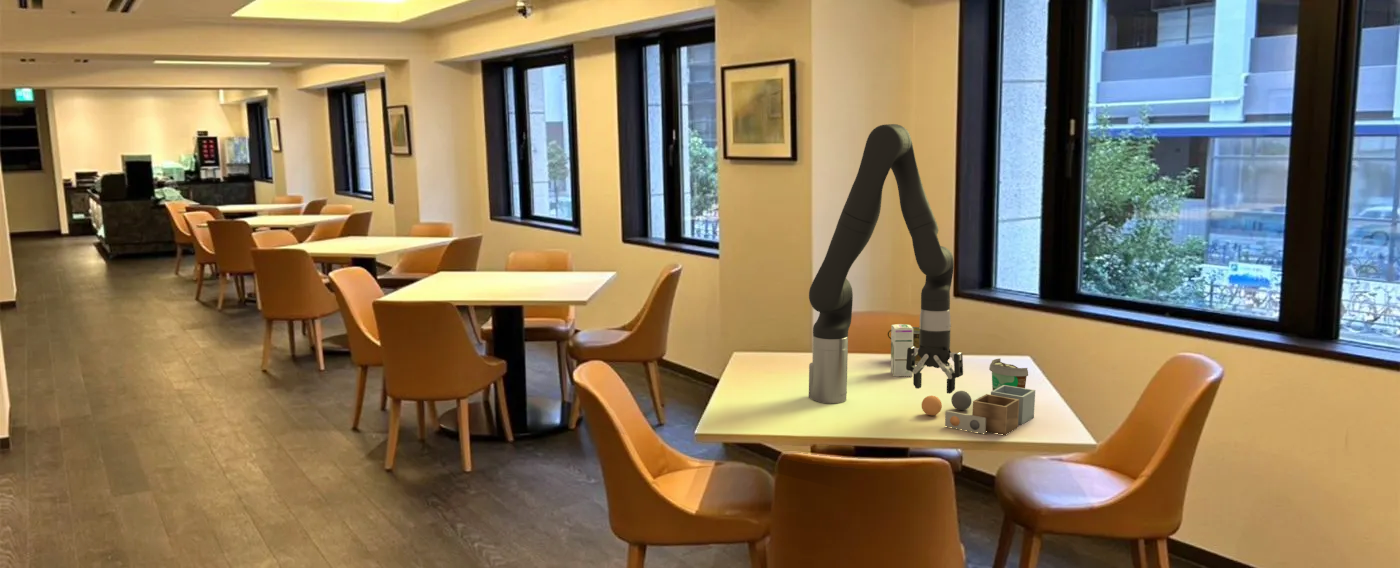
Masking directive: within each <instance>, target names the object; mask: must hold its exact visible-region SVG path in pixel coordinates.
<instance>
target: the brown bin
mask: <svg viewBox="0 0 1400 568" xmlns="http://www.w3.org/2000/svg"><path fill="white" fill-rule="evenodd" d="M1018 412H1019V399H1013V398H1007V397H1001V396H995V395H991V394H988V393H986V394H984V395H982V396H981V397H980V396H979V397H978V398H977V399H974V400H973V401H972V414H971V415H973V416H979V417H984V418H986V431H987V432H986V433H988V432H992V433H991V434H993V433H998V434H1003V435H1005V436H1007V435H1008V434H1007V433H1009V432H1010V433H1012V432H1013V431H1014V429H1015V428H1016V429H1018V428H1017V427H1019V424H1018ZM1016 429H1015V430H1016ZM1012 430H1013V431H1012ZM1011 431H1012V432H1011ZM1010 433H1009V434H1010ZM998 434H997V435H998ZM1006 434H1007V435H1006ZM1003 435H1002V436H1003Z"/></svg>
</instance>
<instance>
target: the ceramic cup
mask: <svg viewBox="0 0 1400 568" xmlns="http://www.w3.org/2000/svg"><path fill="white" fill-rule="evenodd" d="M911 327H912V328H913V346H915V347H916V348H919V347H920V344H919V332H920V326H919V327H917V326H911ZM890 333H891V329H890V330H888V332H887V337H888V338H889V339H890V340H891V335H890ZM920 360H921V357H920V356H919V354H918V353H917V355H916V356H915V365H917V364H918V363H919V361H920Z"/></svg>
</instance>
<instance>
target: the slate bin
mask: <svg viewBox="0 0 1400 568" xmlns="http://www.w3.org/2000/svg"><path fill="white" fill-rule="evenodd" d="M990 395H995V396H1001V397H1007V398H1013V399H1019V412H1018V425H1020V424H1021V426H1022V424H1023V425H1024V424H1025V422H1026V423H1028V422H1029V421H1031V420H1032V419H1033V418H1035V407H1036V406H1035V403H1036V390H1035V389H1030V388H1026V387H1025V388H1019V387H1013V386H1007V385H1002V386H1001V387H999V388H997V389H995V390H993V391H992V390H991V391H990Z"/></svg>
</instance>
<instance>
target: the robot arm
mask: <svg viewBox="0 0 1400 568" xmlns="http://www.w3.org/2000/svg"><path fill="white" fill-rule="evenodd" d="M890 170H891V171H892V173H893V175H894V179H895V181H896V187H897V190H898V199H899V206H900V211H901V214H902V217H903V220H904V223H905V225H906V227H907V230H908V233H909V235H910V237H911V242H912V247H913V251H914V257H915V261H916V264H917V265H918V268H919V269H920V272H921V273H922V274H924V276H925V282H924V283H925V284H924V285H923V287H922V289H921V293H920V314H919V328H920V332H919V344H920V347H919V348H916V347H915V346H912V347H910V348H908V349H907V363H906V369H907V370H908V371H911V372H913V376H912V380H913V382H912V383H913V386H914V388H915V389H921V388H922V376H923V375H922V374H923V373H922V371H923V369H924V368H926V367H927V368H932V367H933V368H936V369H940V370H941V371H942V372H944V374H945V376H946V377H947V378H946V394H953V392H954V391H955V389H956V378H960V377H961V376H963V375H964V363H963V362H964V361H963V358H964V357H963V352H962V351H958V352H951V327H952V323H951V321H952V320H951V317H952V316H951V287H952V282H953V275H954V269H955V265H954V264H955V263H954V262H955V261H954V256H953V253H952V252H951V250H950V249H949V248H947V247H946V246H943V245H941V244H940V241H939V238H938V234H939V226H938V222H937V221H936V218H935V215H934V212H933V209H932V207H931V205H930V202H929V200H928V197H927V194H926V192H925V189H924V186H923V182H922V178H921V176H920V171H919V168H918V164H917V160H916V155H915V150H914V145H913V141H912V137H911V134H910V132H909V130H908V129H906V128H905V126H903V125H900V124H896V123H890V124H889V123H888V124H881V125H878V126H876V127H875V128H873V130H871V131H870V133H869V134H868V137H867V139H866V142H865V146H864V149H863V153H862V157H861V160H860V164H859V167H858V171H857V174H856V177H855V179H854V181H853V184H852V185H851V188H850V191H849V193H848V195H847V198H846V200H845V204H844V205H843V208H842V210H841V213H840V215H839V218H838V220H837V224H836V227H835V228H834V229H835V230H834V233H833V235H832V238H831V239H830V243H829V246H828V249H827V251H826V254H825V256H824V259H823V261H822V263H821V265H820V267H819V269H818V271H817V273H816V275H815V277H814V279H813V281H812V282H811V284H810V288H809V290H808V299H809V304H810V306H811V307H812V308H813V309H814V310H815V311H817V312H819V314H818V315H819V316H818V318H817V320H816V321H815V323H814V324H813V326H812V362H809V365H808V399H811V400H813V401H815V402H817V403H823V404H837V403H839V404H840V403H843V402H845V401H847V397H848V395H847V394H848V360H849V358H848V355H849V353H848V349H849V329H850V326H851V324H852V317H853V298H854V297H853V295H854V293H853V288H852V285H851V283H850V281H849V280H848V279H847V277H848V273H849V272H850V269H851V267H852V265H853V264H854V262H855V261H856V260H857V258H858V257H859V256H860V254H861V253H862V252H863V250H864V249H865V248H866V246H867V244H868V243H869V241H870V239H871V237H872V235H873V233H874V231H875V228H876V227H877V226H876V225H877V223H878V220H879V217H880V214H881V207H882V199H883V198H882V197H883V189H884V185H885V182H886V179H887V176H888V174H889V172H890ZM917 353H918V354H919V356H920V357H921V360H920V361H919V363H918V364H915V356H916V355H917ZM950 359H951V360H952V362H953V365H952V364H951V362H950V361H949V360H950Z"/></svg>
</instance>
